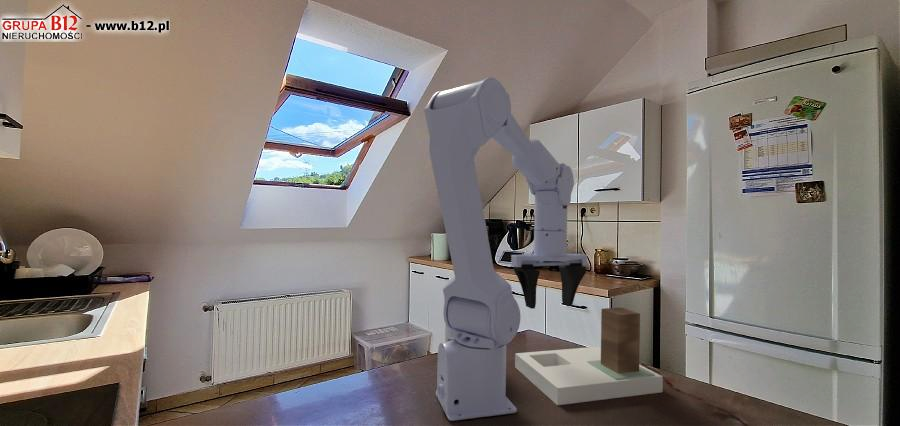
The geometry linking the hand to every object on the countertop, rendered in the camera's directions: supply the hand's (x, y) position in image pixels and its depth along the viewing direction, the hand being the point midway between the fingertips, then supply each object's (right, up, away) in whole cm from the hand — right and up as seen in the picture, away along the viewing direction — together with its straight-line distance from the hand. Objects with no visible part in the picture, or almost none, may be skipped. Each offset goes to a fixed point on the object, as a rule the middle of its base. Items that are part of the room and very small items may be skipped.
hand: (549, 306), depth 70 cm
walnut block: (+9, -8, -8) cm, 14 cm away
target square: (+9, -8, -8) cm, 15 cm away
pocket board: (+4, -10, -6) cm, 13 cm away
